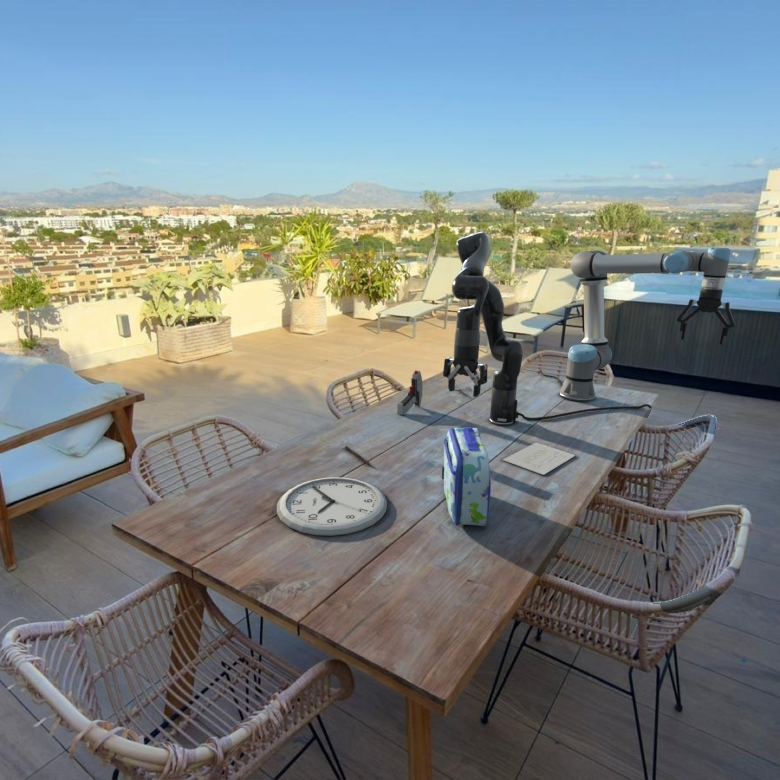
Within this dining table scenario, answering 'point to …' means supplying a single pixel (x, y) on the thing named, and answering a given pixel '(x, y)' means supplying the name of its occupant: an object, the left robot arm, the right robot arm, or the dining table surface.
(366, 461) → the brown stick
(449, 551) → the dining table surface
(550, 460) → the invitation card
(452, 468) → the lunch box
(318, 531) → the wall clock
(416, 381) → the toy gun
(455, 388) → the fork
